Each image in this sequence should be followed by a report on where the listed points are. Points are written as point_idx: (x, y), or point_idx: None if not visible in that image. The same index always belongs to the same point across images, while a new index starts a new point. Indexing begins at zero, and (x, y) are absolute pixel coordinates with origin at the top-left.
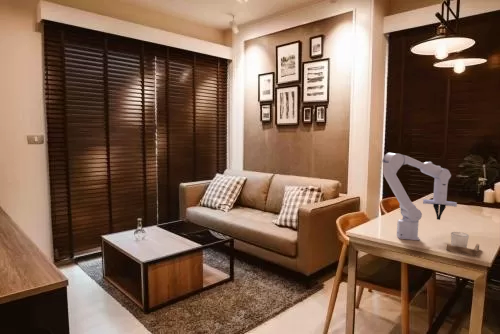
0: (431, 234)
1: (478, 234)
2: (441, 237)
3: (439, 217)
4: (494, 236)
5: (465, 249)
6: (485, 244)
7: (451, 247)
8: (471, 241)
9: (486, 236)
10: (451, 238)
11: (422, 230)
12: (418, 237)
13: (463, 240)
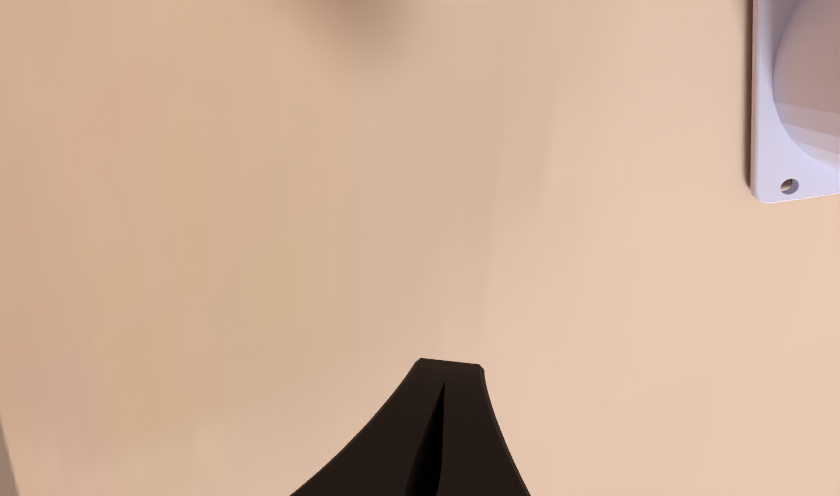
0: (528, 345)
1: (123, 490)
2: (424, 268)
3: (423, 384)
4: (19, 474)
5: None
6: (19, 197)
7: None
8: (139, 247)
9: (64, 455)
10: None
11: (613, 463)
12: (759, 60)
13: None
